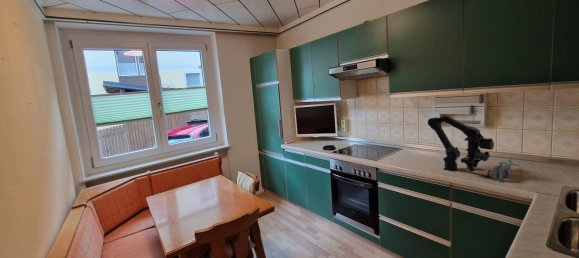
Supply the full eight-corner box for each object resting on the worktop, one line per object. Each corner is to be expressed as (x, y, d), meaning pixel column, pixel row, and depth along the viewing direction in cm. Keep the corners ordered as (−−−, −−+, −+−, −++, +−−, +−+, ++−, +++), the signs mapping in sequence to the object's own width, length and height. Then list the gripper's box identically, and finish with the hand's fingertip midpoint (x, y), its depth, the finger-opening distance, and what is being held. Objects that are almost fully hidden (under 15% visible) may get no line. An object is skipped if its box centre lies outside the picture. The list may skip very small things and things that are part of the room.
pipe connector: (519, 169, 165) (520, 155, 163) (518, 174, 158) (519, 158, 157) (500, 167, 172) (500, 153, 170) (497, 171, 165) (498, 157, 164)
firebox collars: (492, 180, 153) (492, 167, 151) (500, 176, 158) (500, 163, 157) (501, 182, 149) (501, 169, 148) (509, 177, 154) (509, 165, 153)
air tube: (465, 172, 168) (466, 166, 167) (469, 170, 170) (469, 164, 169) (494, 179, 154) (495, 172, 154) (497, 177, 156) (498, 171, 156)
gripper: (480, 152, 152) (480, 177, 155) (494, 146, 162) (494, 170, 164) (460, 149, 162) (460, 173, 164) (474, 144, 171) (474, 166, 173)
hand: (472, 170), depth 166 cm, fingers closed on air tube, 4 cm apart
